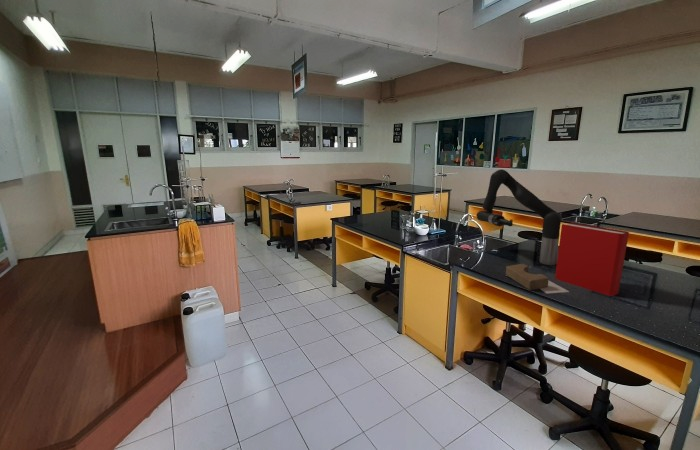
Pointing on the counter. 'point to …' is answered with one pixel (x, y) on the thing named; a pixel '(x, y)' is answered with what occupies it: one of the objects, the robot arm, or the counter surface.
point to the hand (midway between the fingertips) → (511, 224)
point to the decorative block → (526, 277)
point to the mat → (553, 288)
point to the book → (591, 257)
